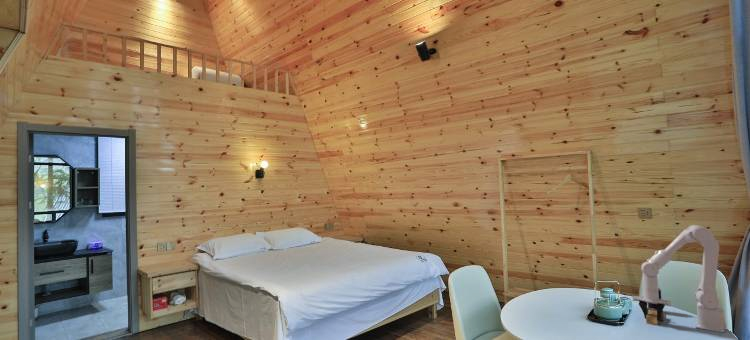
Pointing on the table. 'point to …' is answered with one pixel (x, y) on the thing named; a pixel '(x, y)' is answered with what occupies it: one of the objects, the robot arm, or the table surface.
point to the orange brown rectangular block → (652, 318)
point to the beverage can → (653, 306)
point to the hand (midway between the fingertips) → (652, 319)
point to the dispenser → (661, 314)
